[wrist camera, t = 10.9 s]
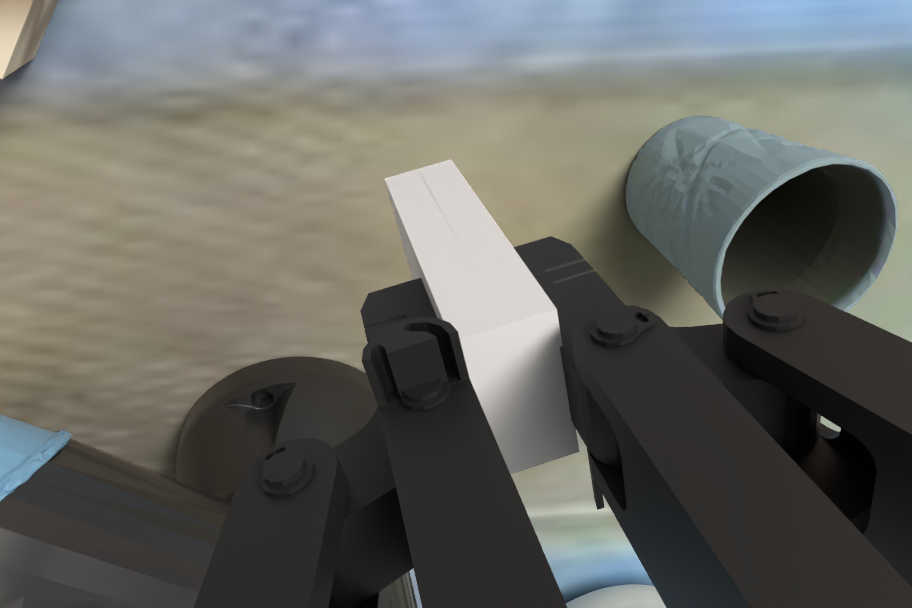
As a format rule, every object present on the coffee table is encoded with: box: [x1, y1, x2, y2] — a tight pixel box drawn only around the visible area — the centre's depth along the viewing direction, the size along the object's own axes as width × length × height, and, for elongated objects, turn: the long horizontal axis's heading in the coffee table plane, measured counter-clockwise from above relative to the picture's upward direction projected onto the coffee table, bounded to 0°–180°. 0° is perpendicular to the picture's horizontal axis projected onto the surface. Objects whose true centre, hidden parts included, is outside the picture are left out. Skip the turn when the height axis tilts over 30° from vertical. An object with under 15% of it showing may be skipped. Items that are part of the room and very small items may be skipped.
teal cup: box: [625, 116, 898, 320], centre depth 40 cm, size 10×10×12 cm
